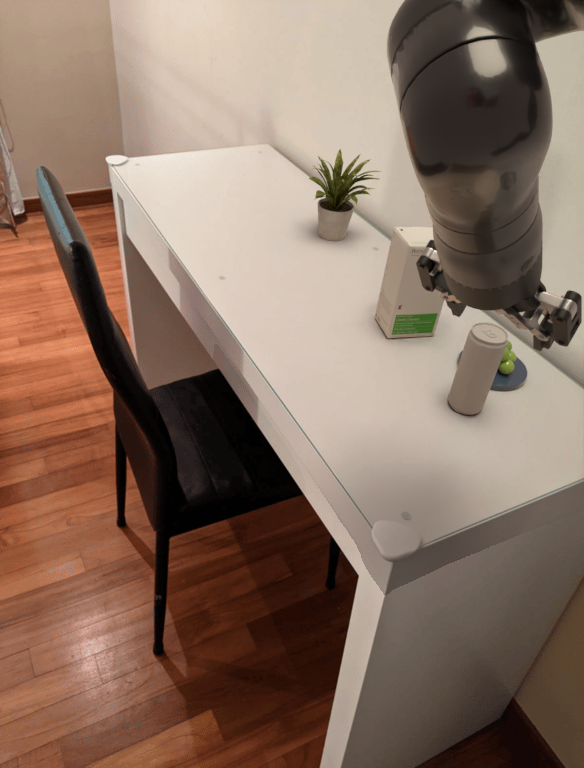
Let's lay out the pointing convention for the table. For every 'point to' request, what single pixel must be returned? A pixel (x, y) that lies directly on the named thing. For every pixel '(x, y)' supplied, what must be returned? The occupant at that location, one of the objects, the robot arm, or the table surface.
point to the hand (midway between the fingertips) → (500, 324)
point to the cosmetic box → (407, 288)
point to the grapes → (508, 371)
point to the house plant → (338, 197)
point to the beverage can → (477, 367)
